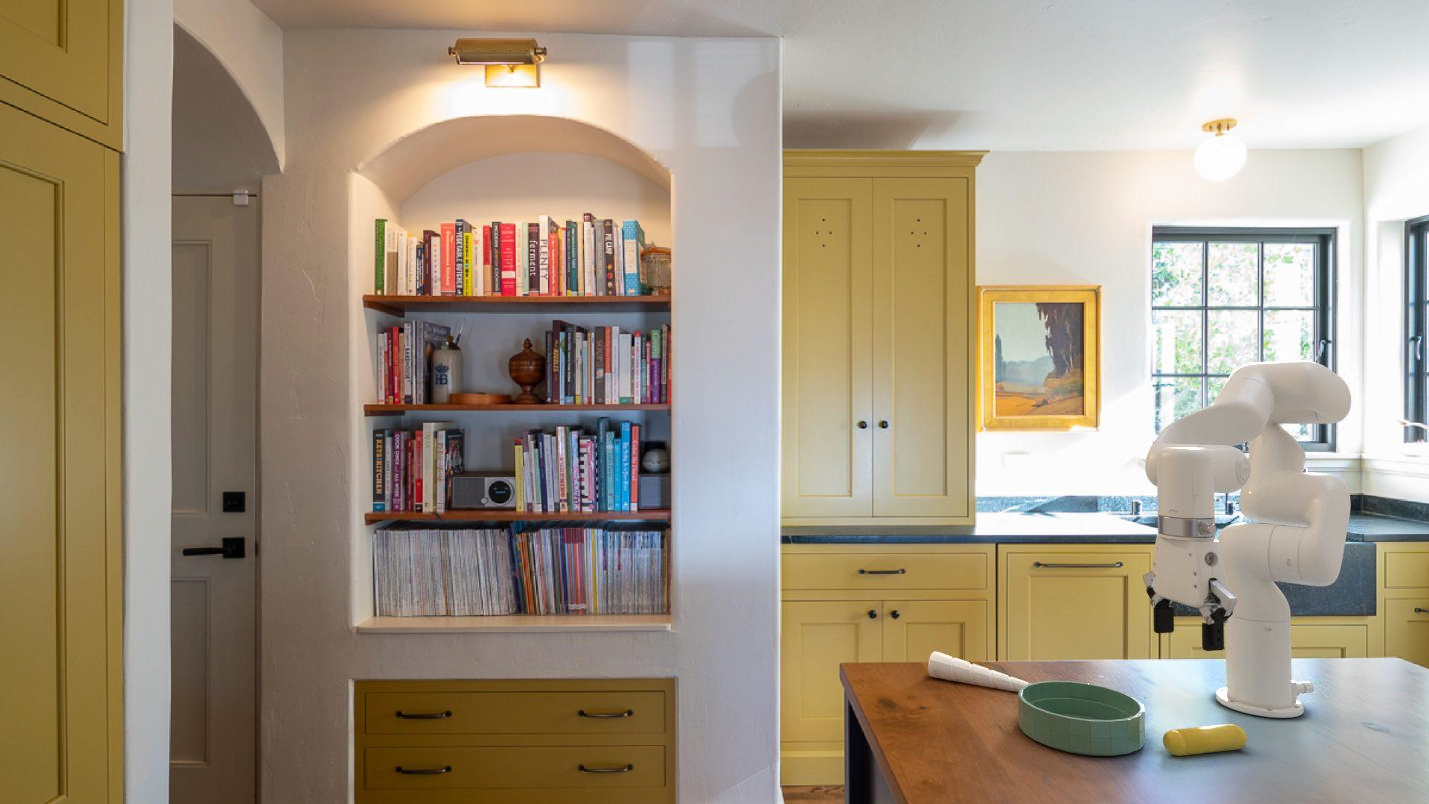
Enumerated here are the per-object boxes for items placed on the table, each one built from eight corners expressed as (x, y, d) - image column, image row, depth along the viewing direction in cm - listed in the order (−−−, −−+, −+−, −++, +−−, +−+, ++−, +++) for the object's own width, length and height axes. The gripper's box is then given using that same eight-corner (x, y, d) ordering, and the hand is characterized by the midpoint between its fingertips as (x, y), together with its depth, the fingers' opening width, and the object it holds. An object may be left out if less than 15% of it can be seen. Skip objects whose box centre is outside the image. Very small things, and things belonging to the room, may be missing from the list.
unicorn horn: (1054, 705, 141) (1053, 677, 141) (925, 679, 156) (925, 654, 156) (1061, 697, 145) (1061, 670, 145) (935, 672, 160) (935, 648, 160)
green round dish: (1092, 709, 139) (1092, 677, 139) (1172, 752, 121) (1172, 715, 122) (997, 718, 136) (996, 685, 136) (1065, 764, 118) (1064, 726, 118)
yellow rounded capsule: (1233, 742, 125) (1233, 719, 125) (1253, 752, 121) (1252, 728, 121) (1157, 751, 122) (1156, 727, 122) (1175, 761, 118) (1174, 736, 118)
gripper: (1255, 535, 115) (1257, 656, 115) (1165, 520, 132) (1166, 625, 132) (1209, 537, 114) (1211, 659, 113) (1124, 521, 131) (1126, 627, 130)
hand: (1187, 641), depth 122 cm, fingers open, 9 cm apart
